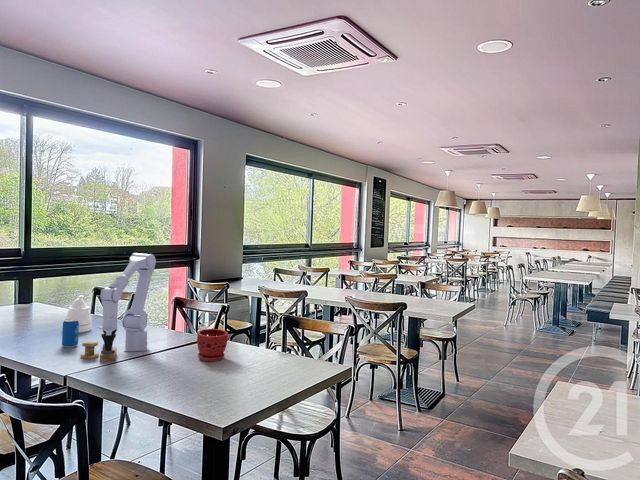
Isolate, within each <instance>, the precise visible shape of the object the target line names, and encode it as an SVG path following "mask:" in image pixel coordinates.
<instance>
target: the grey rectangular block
mask: <svg viewBox="0 0 640 480" xmlns="http://www.w3.org/2000/svg"><path fill="white" fill-rule="evenodd" d="M102 347H103V353H102V354H111V353H112V349H111V351H106V350H105V345H104V343H103V344H102Z"/></svg>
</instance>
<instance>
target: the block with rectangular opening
mask: <svg viewBox="0 0 640 480" xmlns="http://www.w3.org/2000/svg"><path fill="white" fill-rule="evenodd" d="M117 349H118V347H117V346H112V353H111V354H102V353H103V346H102V347H101V349H100V354H99V363H109V362H111V363H113V362H117V361H116V360H117Z"/></svg>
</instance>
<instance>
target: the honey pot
mask: <svg viewBox="0 0 640 480" xmlns="http://www.w3.org/2000/svg"><path fill="white" fill-rule="evenodd" d="M84 298H85V295H78V297H77V298H75V299H74V301H73V302H72V303H71V305H70V306H69V307H68V311H67V313H66V316H65V319H78V322H79V331H78V332H79V333H87V332H89V331H92V322H93V321H92V318H91V316H92V315H91V314H90V311H89V309H91V308H90V306H89V305H87V303H86V302H85V301H84ZM65 319H64V320H65ZM86 331H87V332H86Z"/></svg>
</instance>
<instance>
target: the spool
mask: <svg viewBox="0 0 640 480" xmlns="http://www.w3.org/2000/svg"><path fill="white" fill-rule="evenodd" d="M81 343H82V344H81V346H82V347H84V352H82V353H80V356H79V357H80V359H82V360H92V359H93V360H94V359H97V358H98V357H100V354H99V352H96V351H95V347H97V346H98V345H99V342H98V341H96V340H88V341H87V340H86V341H83V342H81Z"/></svg>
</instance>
